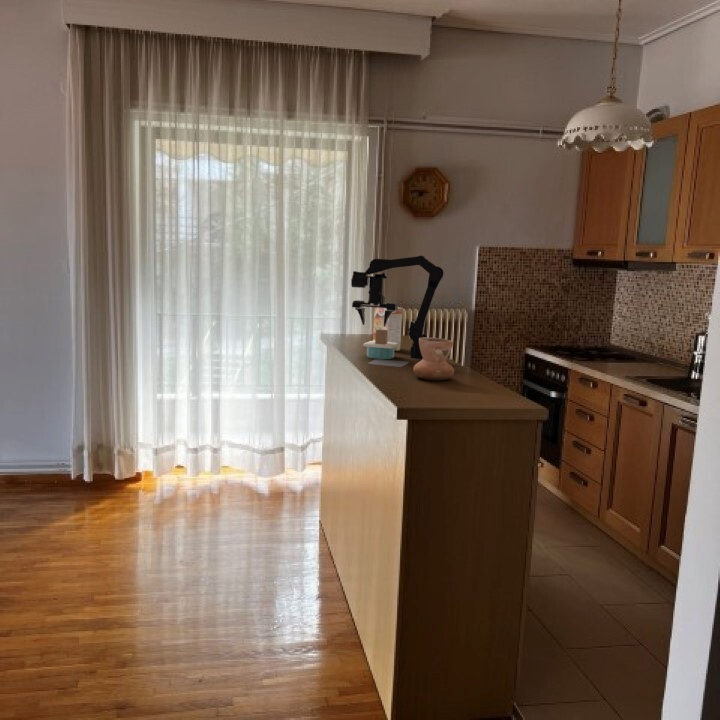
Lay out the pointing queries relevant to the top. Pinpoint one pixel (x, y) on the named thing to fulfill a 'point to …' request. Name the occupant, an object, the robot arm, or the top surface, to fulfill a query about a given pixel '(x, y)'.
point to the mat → (388, 362)
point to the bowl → (380, 353)
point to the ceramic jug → (434, 359)
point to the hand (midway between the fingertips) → (374, 325)
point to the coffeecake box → (389, 325)
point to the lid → (381, 340)
